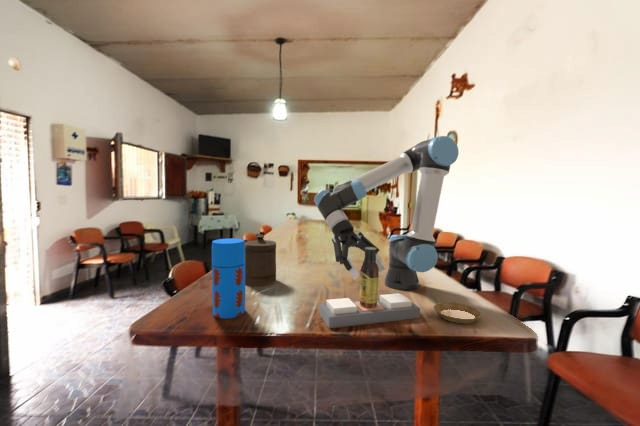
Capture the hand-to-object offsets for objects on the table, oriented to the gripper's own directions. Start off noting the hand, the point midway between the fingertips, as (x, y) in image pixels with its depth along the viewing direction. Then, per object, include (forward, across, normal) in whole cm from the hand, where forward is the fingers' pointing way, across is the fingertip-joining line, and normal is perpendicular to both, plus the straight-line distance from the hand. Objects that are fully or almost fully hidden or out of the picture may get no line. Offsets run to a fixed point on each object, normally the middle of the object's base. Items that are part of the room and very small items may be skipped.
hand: (370, 274), depth 103 cm
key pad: (+10, 0, -11) cm, 15 cm away
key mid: (+9, 0, -10) cm, 14 cm away
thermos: (-13, +35, -34) cm, 51 cm away
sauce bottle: (+7, 0, -8) cm, 11 cm away
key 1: (+5, +9, -12) cm, 16 cm away
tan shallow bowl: (+24, -23, +3) cm, 33 cm away
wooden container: (-30, +9, -52) cm, 61 cm away
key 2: (+11, -9, -6) cm, 15 cm away
